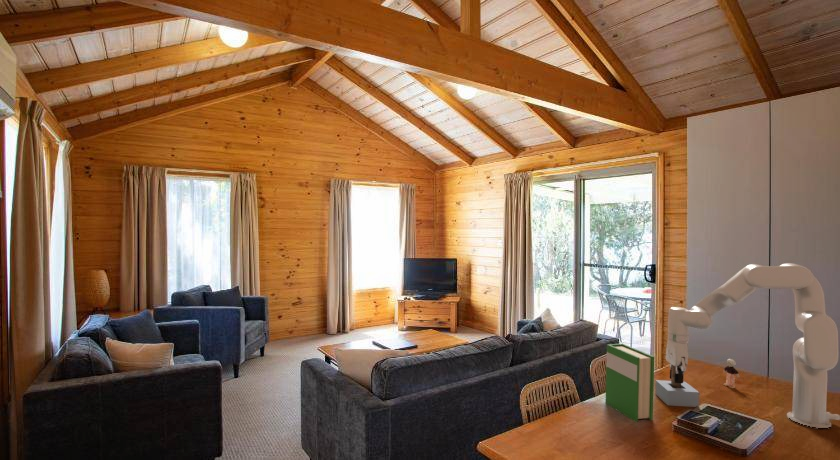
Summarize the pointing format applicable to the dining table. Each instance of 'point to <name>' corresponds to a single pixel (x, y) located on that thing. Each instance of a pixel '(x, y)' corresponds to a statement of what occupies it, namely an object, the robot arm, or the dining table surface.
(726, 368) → the grandmother figurine
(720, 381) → the dining table surface
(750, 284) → the robot arm
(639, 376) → the hardback book
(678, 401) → the socket block
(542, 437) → the dining table surface
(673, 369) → the peg
